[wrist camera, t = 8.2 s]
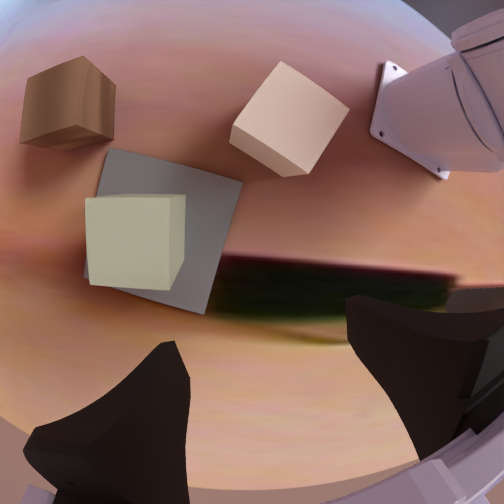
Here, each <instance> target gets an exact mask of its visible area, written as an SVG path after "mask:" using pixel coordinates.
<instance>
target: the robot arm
mask: <svg viewBox="0 0 504 504" xmlns="http://www.w3.org/2000/svg"><path fill="white" fill-rule="evenodd" d="M451 45H452V47H453V48H454V49H455V51H456V52H454V53H452V54H449V55H447V56H444V57H442V58H440V59H438V60H435V61H433V62H431V63H429V64H426V65H424V66H422V67H420V68H418V69H416V70H414V71H411V72H409V73H408V72H406V71H405V70H403V69H402V68H400V67H399V66H397V65H396V64H394V63H392V62H391V61H386V62H384V65H383V71H382V76H381V81H380V86H379V91H378V96H377V100H376V105H375V109H374V114H373V118H372V122H371V126H370V134H371V135H372V136H373V137H374V138H376V139H378V140H380V141H382V142H384V143H385V144H387V145H389V146H391V147H392V148H394V149H396V150H398V151H399V152H401V153H403V154H404V155H406V156H407V157H409V158H411V159H412V160H414V161H415V162H417V163H419V164H420V165H422V166H423V167H425V168H426V169H428V170H429V171H431V172H432V173H434V174H435V175H437V176H438V177H440V178H441V179H443V180H447V178H448V175H449V171H467V172H488V173H492V172H498V171H500V170H502V169H504V8H503V9H500V10H497V11H495V12H492V13H490V14H487V15H485V16H483V17H480V18H478V19H476V20H474V21H472V22H470V23H468V24H466V25H464V26H462V27H460V28H459V29H457V30H455V31H454V32H453V33H452V41H451ZM393 68H394V69H395V70H394V69H393ZM379 132H381V133H382V137H381V136H380V134H379ZM437 168H438V171H437ZM345 304H346V318H347V338H348V341H349V342H350V344H351V346H352V348H353V350H354V351H355V353H356V355H357V356H358V358H359V359H360V360H361V362H362V363H363V364H364V365H365V367H366V368H367V369H368V370H369V372H370V373H371V374H372V375H373V377H374V378H375V379H376V380H377V382H378V383H379V384H380V385H381V387H382V388H383V389H384V391H385V392H386V394H387V395H388V397H389V398H390V400H391V402H392V403H393V405H394V407H395V409H396V410H397V412H398V414H399V416H400V418H401V420H402V422H403V423H404V425H405V427H406V429H407V432H408V434H409V436H410V438H411V440H412V442H413V444H414V447H415V449H416V452H417V454H418V457H419V459H420V462H418V463H417V464H415V465H413V466H411V467H409V468H407V469H404V470H402V471H400V472H399V473H396V474H395V475H392V476H390V477H388V478H386V479H384V480H382V481H380V482H377V483H375V484H373V485H371V486H368V487H366V488H363V489H361V490H358V491H356V492H353V493H351V494H348V495H346V496H343V497H340V498H337V499H334V500H330V501H328V502H324V503H321V504H490V503H489V501H488V500H487V499H486V497H485V496H484V495H485V494H486V493H487V492H488V491H490V490H491V489H492V488H493V487H494V486H495V485H496V484H497V483H498V482H499V481H500V480H501V479H503V478H504V308H501V309H496V310H491V311H485V312H475V313H438V312H429V311H422V310H416V309H412V308H407V307H403V306H399V305H395V304H391V303H387V302H384V301H380V300H377V299H373V298H369V297H366V296H361V295H357V296H353V297H350V298H347V299H345ZM190 398H191V395H190V377H189V375H188V372H187V370H186V368H185V365H184V363H183V361H182V358H181V356H180V353H179V351H178V348H177V346H176V344H175V341H169V342H163V343H160V344H159V345H158V346H157V347H156V348H155V349H154V350H153V351H152V352H151V353H150V354H149V355H148V356H147V357H146V358H145V359H144V360H143V361H142V362H141V363H140V364H139V365H138V366H137V367H136V368H135V369H134V370H133V371H132V372H131V373H130V374H129V375H128V376H127V377H126V378H125V379H123V380H122V381H121V382H120V383H119V384H118V385H117V386H116V387H114V388H113V389H112V390H111V391H109V392H108V393H107V394H105V395H104V396H102V397H101V398H100V399H98V400H96V401H95V402H93V403H91V404H90V405H88V406H87V407H85V408H83V409H81V410H80V411H78V412H76V413H74V414H72V415H69V416H67V417H65V418H63V419H60V420H57V421H55V422H52V423H49V424H46V425H42V426H39V427H36V428H35V429H34V430H33V432H32V434H31V436H30V437H29V439H28V441H27V443H26V445H25V447H24V449H23V453H24V455H25V458H26V459H27V461H28V462H29V464H30V465H31V466H32V467H33V468H34V469H35V470H36V471H37V472H38V473H39V474H41V475H42V476H43V477H44V478H45V479H46V480H47V481H48V482H50V483H51V484H52V485H53V486H54V487H56V488H57V489H58V490H57V493H56V495H55V494H53V493H51V492H49V491H47V490H44V489H41V488H39V487H36V486H34V485H31V484H28V485H27V488H26V490H25V493H24V495H23V498H22V500H21V503H20V504H190V500H189V493H188V485H187V473H186V455H185V444H186V433H187V424H188V416H189V407H190Z"/></svg>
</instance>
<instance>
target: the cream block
mask: <svg viewBox="0 0 504 504" xmlns="http://www.w3.org/2000/svg"><path fill="white" fill-rule="evenodd" d="M349 110H350V109H349V108H348V107H346V106H345V105H344V104H343V103H341V102H340V101H339V100H337V99H336V98H335V97H333V96H332V95H331V94H329V93H328V92H327V91H325V90H324V89H323V88H321V87H320V86H318V85H317V84H316V83H314V82H313V81H311V80H310V79H308V78H307V77H305V76H304V75H302V74H301V73H299V72H298V71H296V70H295V69H293V68H291V67H290V66H288V65H287V64H285V63H283V62H282V61H280V62H279V64H278V65H277V66H276V67H275V69H274V70H273V71H272V72H271V74H270V75H269V76H268V77H267V79H266V80H265V81H264V82H263V84H262V85H261V86H260V88H259V89H258V90H257V92H256V93H255V94H254V96H253V97H252V98H251V100H250V101H249V102H248V104H247V105H246V106H245V108H244V109H243V110H242V112H241V113H240V115H239V116H238V117H237V119H236V120H235V122H234V123H233V126H232V130H231V135H230V140H229V143H230V144H232V145H233V146H235V147H236V148H238V149H240V150H241V151H243V152H245V153H246V154H248V155H249V156H251V157H252V158H254V159H256V160H257V161H259V162H260V163H262V164H263V165H265V166H266V167H268V168H270V169H271V170H273V171H274V172H276V173H277V174H279V175H280V176H282V177H288V176H296V175H304V174H309V173H310V171H311V170H312V168H313V167H314V165H315V164H316V162H317V160H318V159H319V157H320V156H321V154H322V153H323V151H324V149H325V148H326V146H327V145H328V143H329V142H330V140H331V138H332V137H333V135H334V134H335V132H336V131H337V129H338V127H339V126H340V124H341V123H342V121H343V120H344V118H345V116H346V115H347V113H348V112H349Z"/></svg>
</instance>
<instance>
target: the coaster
mask: <svg viewBox="0 0 504 504" xmlns="http://www.w3.org/2000/svg"><path fill="white" fill-rule="evenodd" d="M242 185H243V182H241V181H237V180H234V179H231V178H227V177H224V176H221V175H217V174H214V173H210V172H207V171H203V170H200V169H196V168H192V167H189V166H185V165H181V164H177V163H173V162H170V161H166V160H162V159H158V158H153V157H149V156H145V155H141V154H137V153H132V152H128V151H123V150H119V149H114V148H109V150H108V153H107V157H106V160H105V164H104V167H103V171H102V175H101V179H100V183H99V187H98V191H97V196H96V197H98V196H107V195H116V194H186V207H185V242H184V261H183V263H182V265H181V267H180V269H179V272H178V274H177V276H176V278H175V280H174V282H173V284H172V287H171V289H170V291H169V290H152V289H137V288H123V287H112V288H115V289H118V290H121V291H124V292H127V293H130V294H133V295H137V296H140V297H143V298H146V299H150V300H153V301H156V302H160V303H163V304H167V305H170V306H174V307H177V308H181V309H185V310H188V311H192V312H196V313H200V314H203V315H204V313H205V309H206V306H207V302H208V298H209V295H210V291H211V288H212V284H213V281H214V277H215V274H216V270H217V267H218V264H219V260H220V257H221V253H222V250H223V247H224V243H225V240H226V237H227V233H228V230H229V227H230V223H231V220H232V217H233V214H234V210H235V207H236V204H237V201H238V198H239V194H240V191H241V188H242ZM84 278H86V279H89V272H88V260H87V252H86V260H85V268H84ZM109 287H110V286H109Z"/></svg>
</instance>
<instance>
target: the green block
mask: <svg viewBox="0 0 504 504" xmlns="http://www.w3.org/2000/svg"><path fill="white" fill-rule="evenodd" d="M185 207H186V194H116V195H107V196H98V197H90V198H85V223H86V246H87V260H88V272H89V281H90V285H99V286H110V287H123V288H137V289H152V290H169V291H170V289H171V287H172V284H173V282H174V280H175V278H176V276H177V274H178V272H179V269H180V267H181V265H182V263H183V261H184V242H185Z"/></svg>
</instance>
